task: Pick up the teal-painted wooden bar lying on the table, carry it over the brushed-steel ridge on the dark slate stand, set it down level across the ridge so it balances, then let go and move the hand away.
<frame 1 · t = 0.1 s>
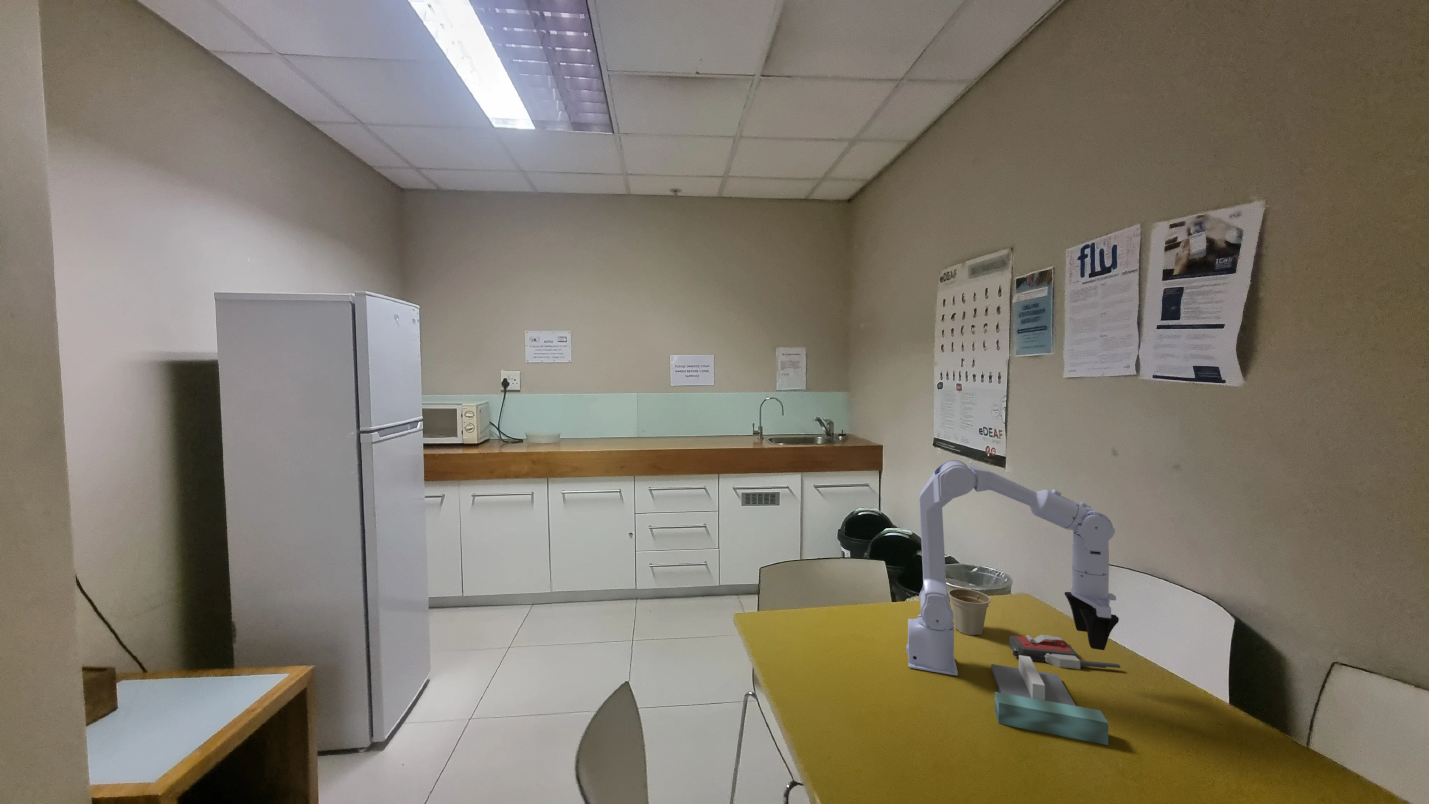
hand: (1089, 639, 98), 10 cm above the table, tool pointing down, fingers open, 7 cm apart
flower pot: (968, 631, 123), on the table
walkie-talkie: (1059, 660, 110), on the table
teal bar: (1048, 729, 87), on the table
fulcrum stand: (1031, 689, 98), on the table
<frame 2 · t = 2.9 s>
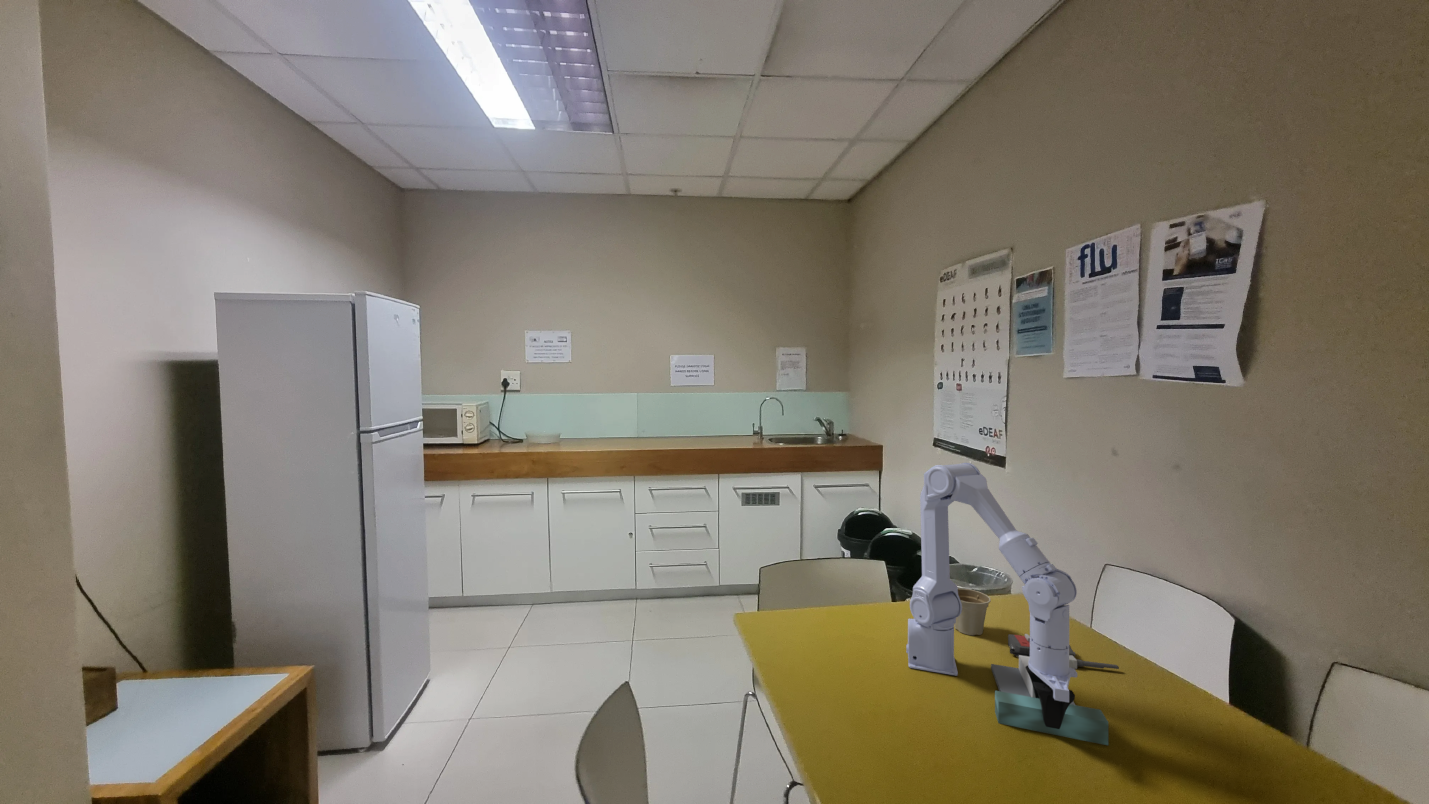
hand: (1048, 719, 87), 1 cm above the table, tool pointing down, fingers closed on teal bar, 3 cm apart
teal bar: (1048, 728, 87), on the table, touching gripper
everything else where it was.
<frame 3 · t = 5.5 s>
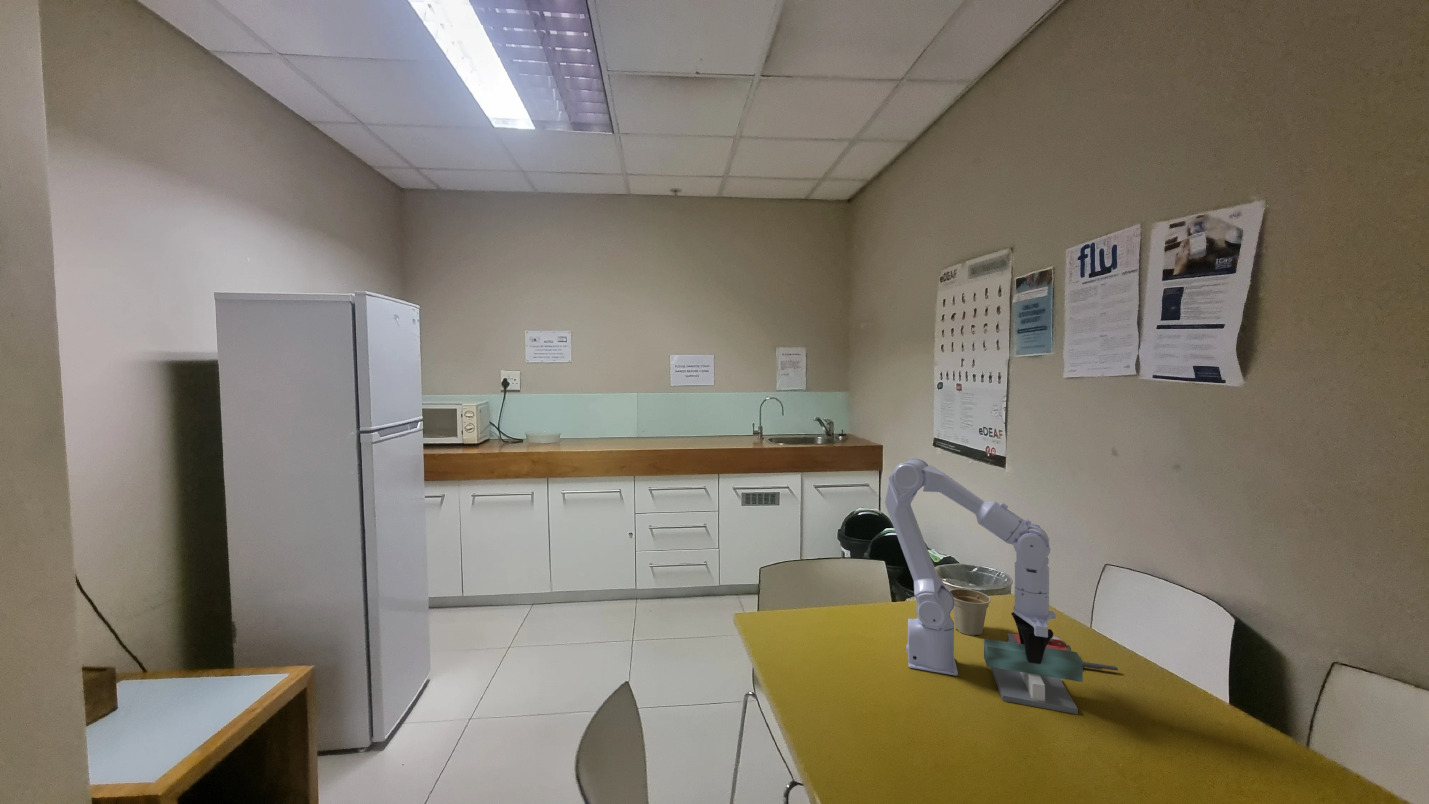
hand: (1031, 657, 98), 6 cm above the table, tool pointing down, fingers closed on teal bar, 3 cm apart
teal bar: (1031, 669, 98), point 4 cm above the table, touching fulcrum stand, gripper
everything else where it was.
when the fingers open (6 cm above the table, at t = 6.5 s): teal bar stays where it is, resting on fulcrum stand.
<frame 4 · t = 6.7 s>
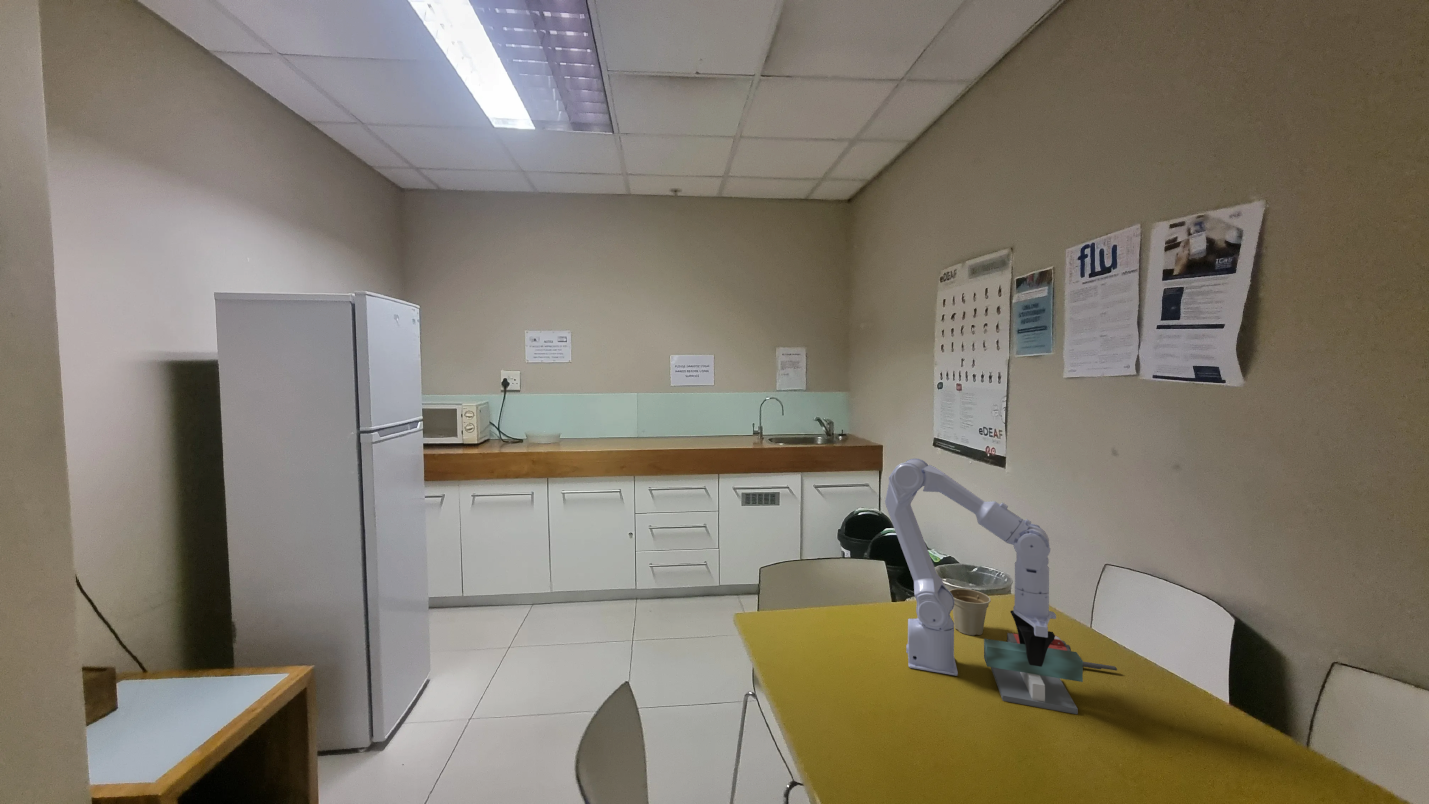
hand: (1031, 657, 98), 6 cm above the table, tool pointing down, fingers open, 5 cm apart
teal bar: (1031, 669, 98), point 4 cm above the table, touching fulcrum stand
everything else where it was.
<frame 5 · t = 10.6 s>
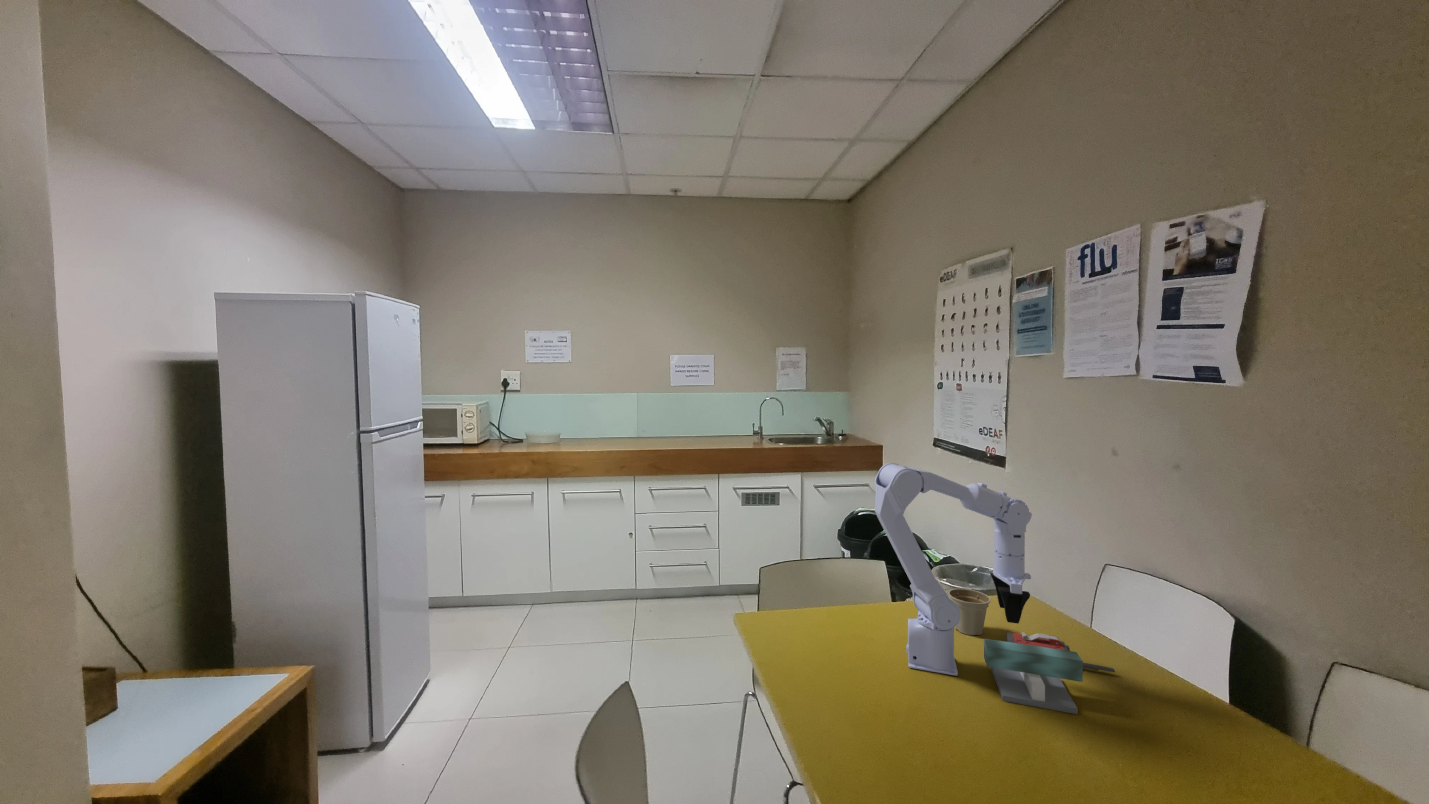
hand: (1008, 614, 108), 10 cm above the table, tool pointing down, fingers open, 7 cm apart
at the end: teal bar inside the target area on the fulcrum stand (0.0 cm from its centre), point 4.0 cm above the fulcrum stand's base; teal bar tilted 0°; teal bar touching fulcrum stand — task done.
